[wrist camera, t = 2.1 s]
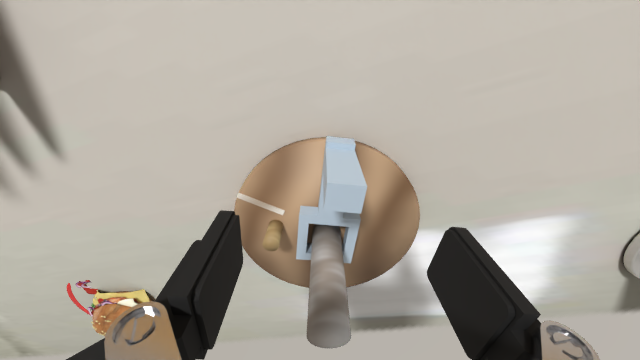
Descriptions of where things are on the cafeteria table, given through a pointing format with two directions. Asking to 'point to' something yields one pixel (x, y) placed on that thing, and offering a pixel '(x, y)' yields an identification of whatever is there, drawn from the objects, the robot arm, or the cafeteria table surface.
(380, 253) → the post base
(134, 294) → the hamburger
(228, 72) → the cafeteria table surface
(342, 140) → the blue square ring handle
